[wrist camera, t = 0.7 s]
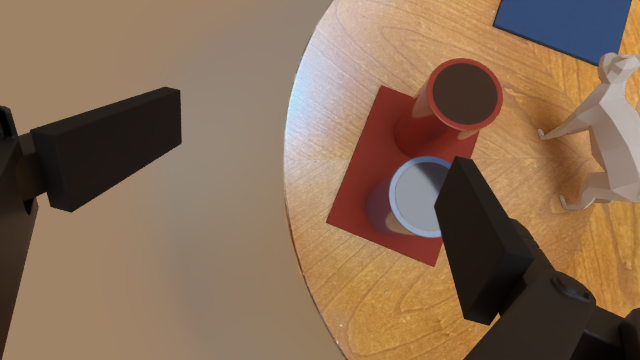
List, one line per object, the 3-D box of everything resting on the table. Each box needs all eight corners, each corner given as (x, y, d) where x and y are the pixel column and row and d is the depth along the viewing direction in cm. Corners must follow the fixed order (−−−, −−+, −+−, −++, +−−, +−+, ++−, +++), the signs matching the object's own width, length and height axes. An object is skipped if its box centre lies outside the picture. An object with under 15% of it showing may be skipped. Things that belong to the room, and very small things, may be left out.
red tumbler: (404, 99, 39) (441, 46, 28) (455, 119, 38) (512, 74, 27) (385, 148, 38) (416, 112, 27) (437, 169, 37) (490, 142, 26)
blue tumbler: (376, 170, 37) (404, 143, 26) (430, 191, 37) (480, 174, 26) (356, 223, 36) (376, 218, 25) (411, 245, 36) (455, 250, 25)
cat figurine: (556, 91, 40) (687, 15, 26) (614, 251, 37) (799, 261, 23) (522, 98, 40) (637, 25, 26) (578, 259, 36) (744, 275, 23)
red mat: (380, 86, 39) (381, 84, 39) (480, 125, 39) (481, 124, 38) (326, 222, 36) (326, 222, 36) (433, 266, 36) (434, 267, 35)
